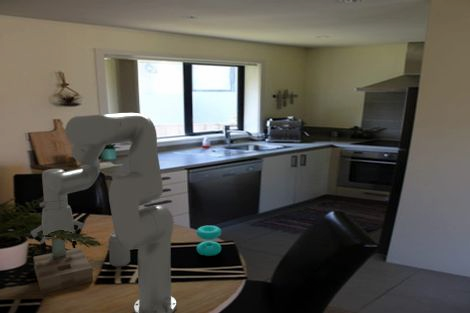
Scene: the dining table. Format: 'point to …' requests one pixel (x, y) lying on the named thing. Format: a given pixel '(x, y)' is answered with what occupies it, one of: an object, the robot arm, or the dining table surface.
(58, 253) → the peg
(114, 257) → the can
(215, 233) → the donuts
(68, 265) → the block
